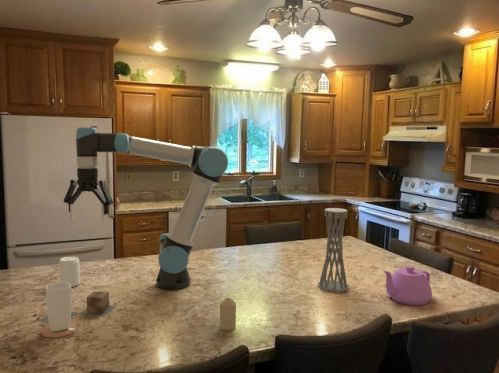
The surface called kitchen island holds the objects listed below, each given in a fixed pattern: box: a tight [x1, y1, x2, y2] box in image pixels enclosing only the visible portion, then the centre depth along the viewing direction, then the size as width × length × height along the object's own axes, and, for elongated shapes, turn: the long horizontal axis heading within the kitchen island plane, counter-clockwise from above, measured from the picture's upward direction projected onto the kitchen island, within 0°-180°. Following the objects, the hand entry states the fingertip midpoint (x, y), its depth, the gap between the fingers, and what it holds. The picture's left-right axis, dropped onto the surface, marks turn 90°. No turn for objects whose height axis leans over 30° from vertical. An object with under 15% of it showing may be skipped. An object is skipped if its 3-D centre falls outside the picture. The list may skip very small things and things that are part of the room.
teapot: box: [383, 265, 433, 306], centre depth 171 cm, size 25×18×14 cm
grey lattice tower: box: [317, 207, 349, 293], centre depth 182 cm, size 14×13×35 cm
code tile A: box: [37, 311, 80, 324], centre depth 148 cm, size 10×10×1 cm
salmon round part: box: [40, 321, 78, 339], centre depth 138 cm, size 11×11×1 cm
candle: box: [219, 297, 237, 331], centre depth 142 cm, size 6×6×10 cm
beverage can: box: [58, 255, 81, 288], centre depth 181 cm, size 8×8×12 cm
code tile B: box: [78, 304, 117, 318], centre depth 155 cm, size 10×10×1 cm
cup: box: [45, 281, 72, 332], centre depth 137 cm, size 7×7×15 cm
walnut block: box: [86, 290, 110, 313], centre depth 155 cm, size 6×6×6 cm
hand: (88, 221), depth 162 cm, fingers open, 13 cm apart
